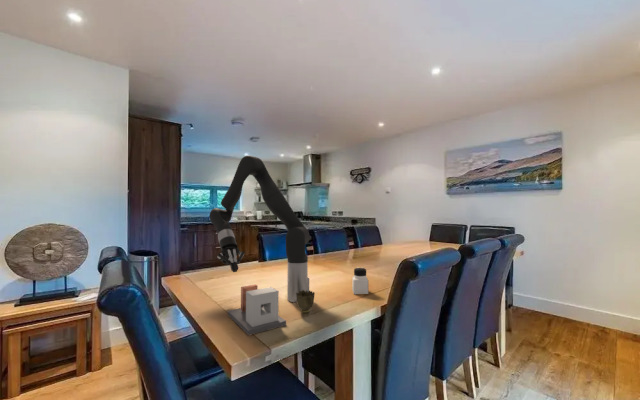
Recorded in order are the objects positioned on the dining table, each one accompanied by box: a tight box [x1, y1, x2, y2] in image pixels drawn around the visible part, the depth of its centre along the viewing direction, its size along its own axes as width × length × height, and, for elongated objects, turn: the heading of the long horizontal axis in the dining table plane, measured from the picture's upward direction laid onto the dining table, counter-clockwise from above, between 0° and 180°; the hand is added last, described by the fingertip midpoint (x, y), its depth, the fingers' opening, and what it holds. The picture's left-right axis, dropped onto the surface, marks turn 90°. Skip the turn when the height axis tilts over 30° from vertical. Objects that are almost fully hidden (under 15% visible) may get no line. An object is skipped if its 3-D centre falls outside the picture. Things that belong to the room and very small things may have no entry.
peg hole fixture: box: [227, 286, 287, 336], centre depth 105 cm, size 14×22×12 cm, turn 36°
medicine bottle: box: [351, 267, 369, 295], centre depth 139 cm, size 7×7×12 cm
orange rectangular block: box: [240, 284, 264, 312], centre depth 106 cm, size 6×11×9 cm, turn 36°
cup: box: [296, 290, 316, 315], centre depth 112 cm, size 8×7×8 cm
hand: (235, 271), depth 123 cm, fingers closed
